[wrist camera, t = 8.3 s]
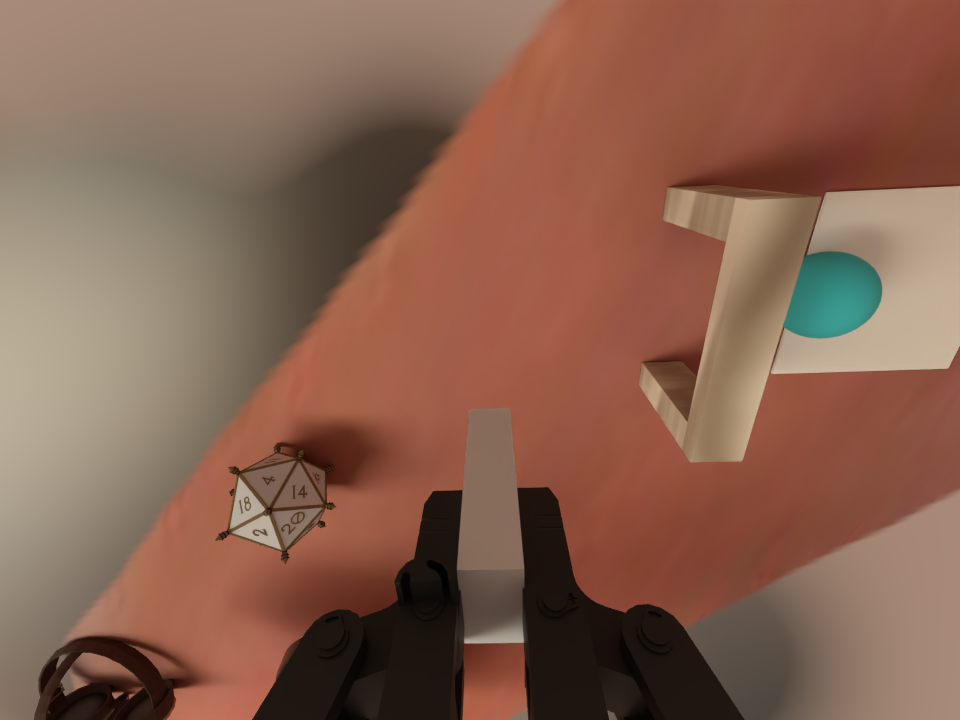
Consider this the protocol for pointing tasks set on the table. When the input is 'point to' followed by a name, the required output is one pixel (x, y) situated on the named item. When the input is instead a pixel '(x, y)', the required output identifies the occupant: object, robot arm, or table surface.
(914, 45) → the table surface
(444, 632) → the robot arm
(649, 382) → the bridge
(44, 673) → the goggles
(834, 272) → the ball
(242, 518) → the game die
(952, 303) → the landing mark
